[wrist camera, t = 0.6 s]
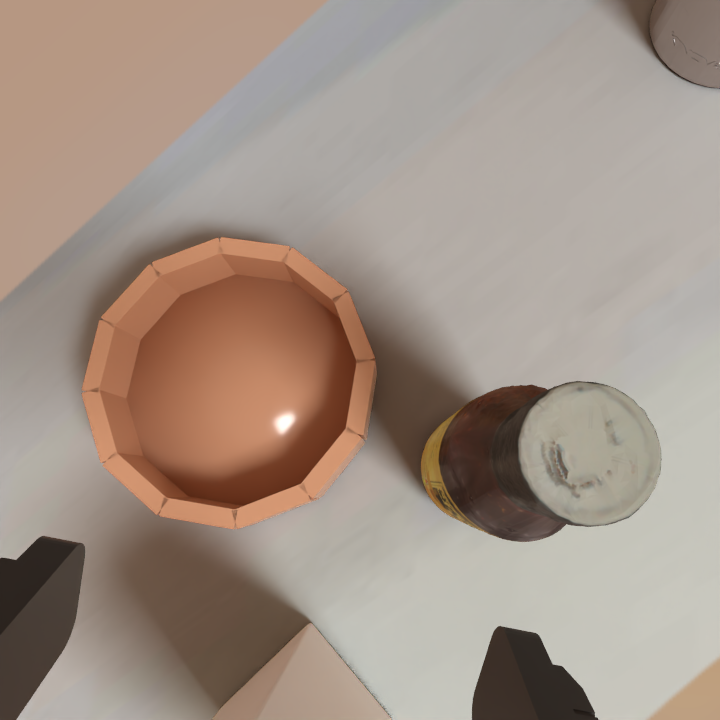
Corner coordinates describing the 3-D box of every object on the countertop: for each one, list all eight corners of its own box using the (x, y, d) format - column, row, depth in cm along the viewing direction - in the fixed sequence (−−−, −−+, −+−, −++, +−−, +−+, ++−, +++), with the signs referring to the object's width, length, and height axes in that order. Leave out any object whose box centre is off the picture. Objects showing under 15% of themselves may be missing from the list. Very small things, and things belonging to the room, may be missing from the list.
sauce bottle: (409, 507, 35) (430, 536, 16) (431, 405, 37) (475, 317, 17) (519, 534, 35) (679, 598, 15) (538, 430, 36) (708, 367, 17)
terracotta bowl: (236, 221, 40) (216, 189, 35) (425, 368, 37) (430, 353, 33) (70, 407, 38) (28, 397, 33) (258, 577, 35) (238, 590, 31)
